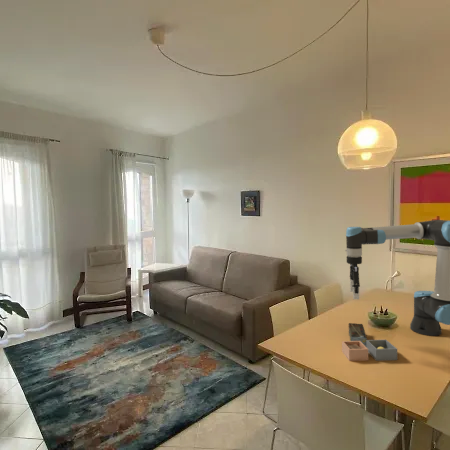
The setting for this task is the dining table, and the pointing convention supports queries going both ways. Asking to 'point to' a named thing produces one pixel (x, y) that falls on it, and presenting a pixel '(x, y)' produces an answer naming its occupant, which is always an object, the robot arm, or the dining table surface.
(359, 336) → the dark grey long box
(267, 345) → the dining table surface
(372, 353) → the grey tub
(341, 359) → the dining table surface
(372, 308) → the dining table surface
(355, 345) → the walnut cube
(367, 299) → the dining table surface
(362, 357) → the pink open box
